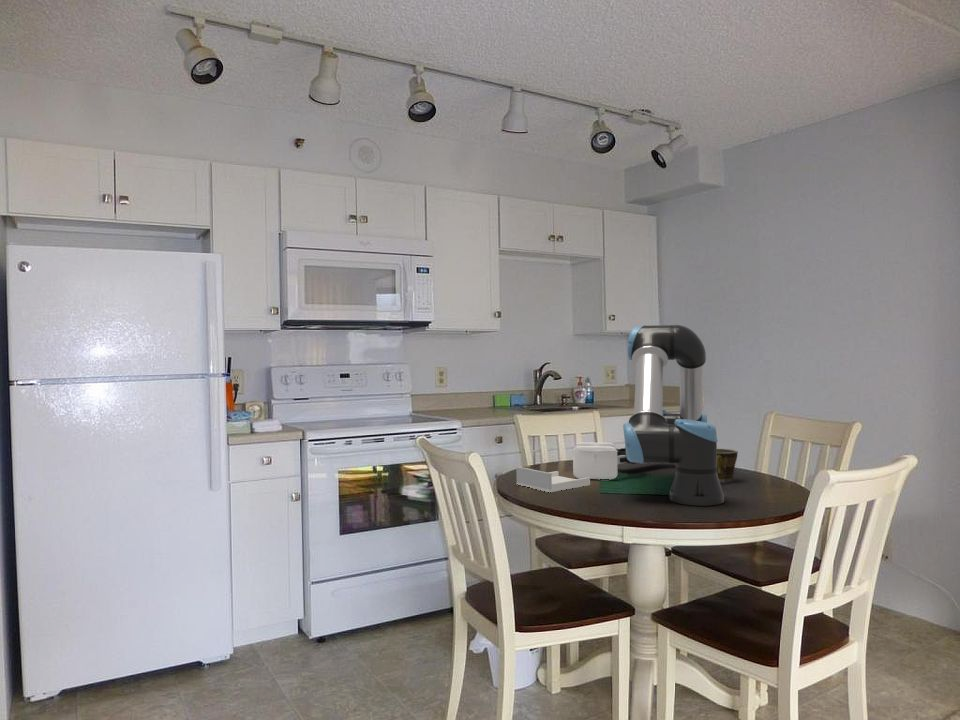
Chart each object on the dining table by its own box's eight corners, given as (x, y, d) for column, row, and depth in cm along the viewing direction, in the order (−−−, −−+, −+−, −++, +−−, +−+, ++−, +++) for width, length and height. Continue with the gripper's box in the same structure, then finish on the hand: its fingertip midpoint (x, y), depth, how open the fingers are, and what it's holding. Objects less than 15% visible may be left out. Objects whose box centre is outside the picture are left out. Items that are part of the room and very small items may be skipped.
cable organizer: (618, 475, 243) (618, 442, 243) (617, 481, 233) (616, 447, 232) (575, 474, 246) (575, 442, 246) (572, 480, 236) (572, 446, 236)
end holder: (590, 485, 226) (589, 467, 226) (549, 492, 216) (549, 473, 216) (556, 478, 239) (556, 461, 239) (516, 485, 228) (516, 467, 228)
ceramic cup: (708, 477, 237) (708, 448, 237) (739, 479, 233) (739, 449, 233) (702, 484, 226) (702, 453, 225) (735, 486, 221) (735, 455, 221)
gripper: (666, 467, 243) (625, 474, 230) (613, 458, 263) (572, 464, 250) (665, 445, 243) (624, 451, 230) (612, 439, 263) (572, 444, 250)
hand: (597, 458), depth 240 cm, fingers open, 13 cm apart
